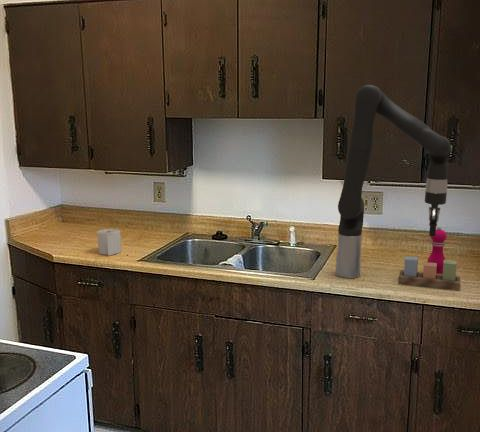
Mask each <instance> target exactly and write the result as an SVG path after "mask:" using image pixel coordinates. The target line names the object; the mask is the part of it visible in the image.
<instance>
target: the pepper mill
mask: <svg viewBox="0 0 480 432" xmlns="http://www.w3.org/2000/svg"><path fill="white" fill-rule="evenodd" d="M430 239H431V245H432V249H431V252H430V255H429V256H428V259H427V261H426V262H429V263H437V269H436V274H443V264H444V260H446V258H445V255H444V247H445V241H446V240H447V233H446V231H444V230H443V229H442V226H441V225H437V226H436V235H435V236H430Z"/></svg>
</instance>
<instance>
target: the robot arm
mask: <svg viewBox="0 0 480 432" xmlns="http://www.w3.org/2000/svg"><path fill="white" fill-rule="evenodd" d="M354 103H355V104H354V118H353V125H352V129H351V132H350V137H349V141H348V146H347V147H348V148H347V151H346V159H345V160H346V161H345V166H344V178H343V186H342V188H341V193H340V197H339V201H338V203H337V209H338V213H339V215H340V216H339V217H340V219H339V225H338V228H337V229H338V231H337V232H338V234H337V235H338V236H337V237H338V238H337V252H336V257H335V258H336V259H335V264H336V265H335V276H337V277H340V278H345V279H357V278H359V277H360V276H361V266H362V265H361V264H362V263H361V261H362V238H363V228H364V227H363V226H364V218H365V217H364V214H365V202H364V199H363V198H362V192H363V186H364V182H365V179H366V177H367V174H368V171H369V167H370V164H371V160H372V155H373V150H374V124H375V123H374V121H375V119H376V114H378V115H380V116H381V117H383V118H384V119H386V120H387V121H389V122H390V123H391V124H392V125H393V126H394V127H396V128H397V129H398V130H399V131H400V132H401V133H403V134H405V135H406V136H407V137H408V138H410V139H411V140H412V141H414V142H416V143H418V144H419V145H420V146H421V147H423V148H424V149H425V150H427V151H428V152H429V164H428V167H427V176H426V178H427V179H426V183H425V193H424V203H426V204H428V205H431V206H429V207H428V214H429V215H428V221H429V224H428V225H429V232H428V233H429V237H431V236H435V235H436V230H437V227H438V222H439V219H440V214H441V207H439V206H440V205H441V206H443V205H446V203H447V194H448V177H449V176H448V174H449V159H450V151H451V142H450V140H449V138H447V137H446V136H443V135H441V134H439V133H437V132H436V131H434V130H432V129H431V127H429V125H427V124H426V122H425V123H424V122H423V121H422V120H421V119H419V118H417V117H416V116H414V115H413V114H411V113H409V112H408V111H407V110H404V109H403V108H401V107H400V106H399V105H397V104H396V103H395V102H393V101H392V100H391V99H390V98H389V97H388V96H387V95H386V94H385V93H384V92H383V91H382V90H381V89H380V88H379V87H378V86H377V85H373V84H365V85H363V86H360V88H359V89H358V90H357V92H356V94H355V98H354Z"/></svg>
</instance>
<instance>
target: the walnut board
mask: <svg viewBox="0 0 480 432" xmlns="http://www.w3.org/2000/svg"><path fill="white" fill-rule="evenodd" d="M442 277H443V274H436V279H429V278H423V271H417V277H410V276H404V269H400V272H399V274H398V281H397V282H398V283H397V284H398V285H402V286H403V285H404V286H411V287H412V286H413V287H421V288H431V289H436V290H437V289H438V290H445V291H446V290H447V291H454V292H455V291H456V292H457V291H458V292H460V290H461V276H460V275H456V279H455V281H448V280H442Z"/></svg>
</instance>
